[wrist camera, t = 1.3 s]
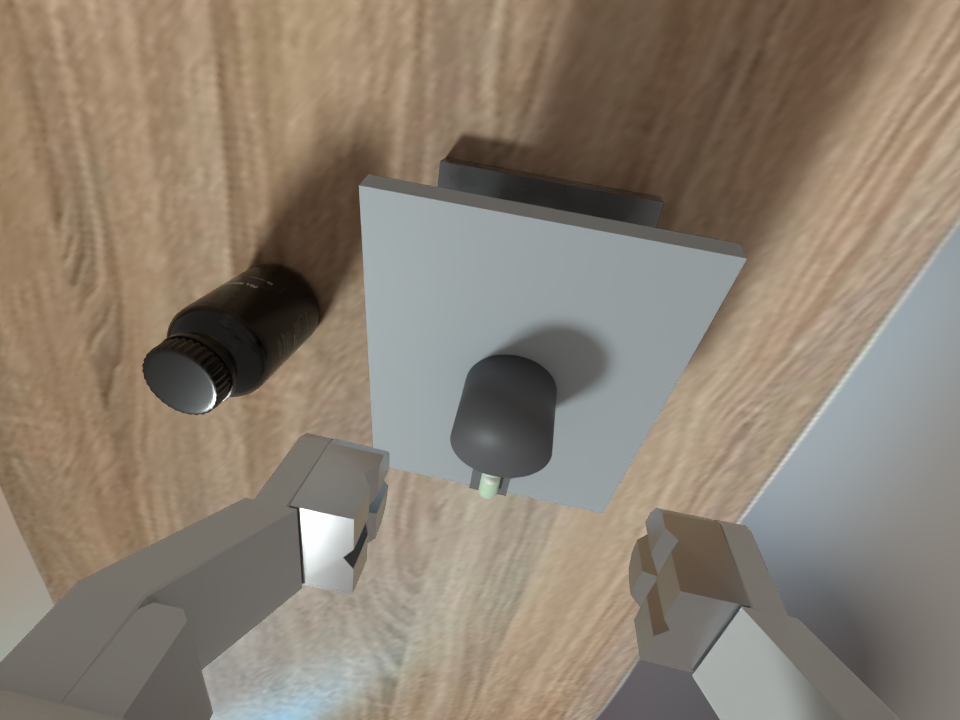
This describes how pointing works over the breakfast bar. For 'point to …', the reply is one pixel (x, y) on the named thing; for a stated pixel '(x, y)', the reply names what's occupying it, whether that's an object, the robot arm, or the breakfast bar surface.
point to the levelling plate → (526, 337)
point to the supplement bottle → (232, 339)
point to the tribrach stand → (550, 192)
